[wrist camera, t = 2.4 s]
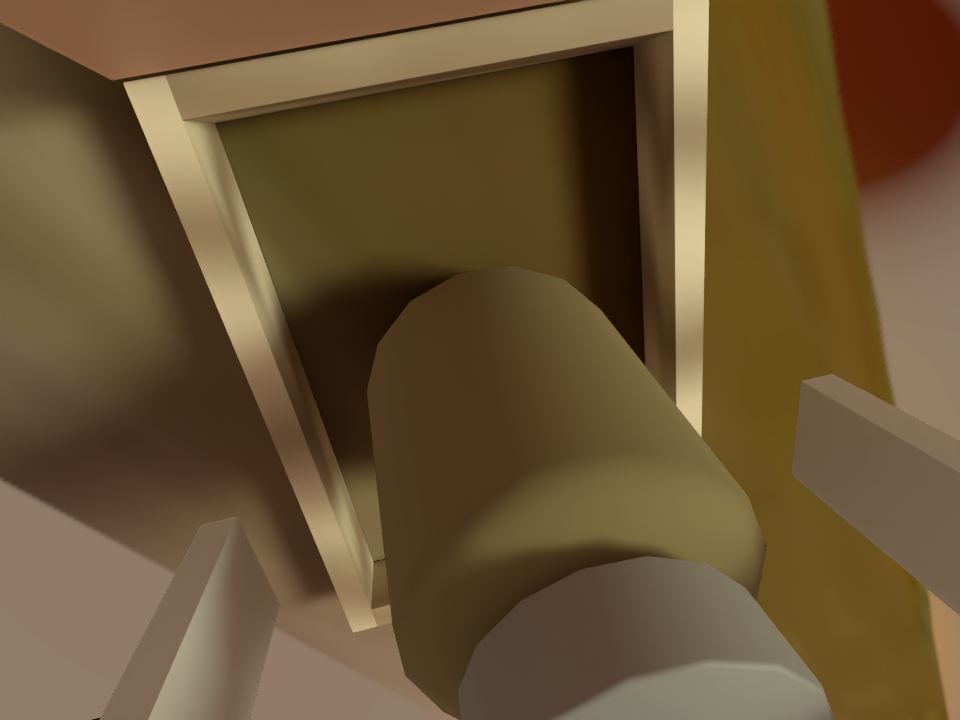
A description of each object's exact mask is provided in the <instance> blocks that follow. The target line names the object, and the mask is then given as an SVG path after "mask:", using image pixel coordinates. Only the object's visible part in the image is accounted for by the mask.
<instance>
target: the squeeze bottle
mask: <svg viewBox="0 0 960 720" xmlns="http://www.w3.org/2000/svg"><path fill="white" fill-rule="evenodd" d="M367 397H368V407H369V416H370V425H371V434H372V443H373V452H374V462H375V471H376V480H377V489H378V498H379V508H380V517H381V526H382V535H383V544H384V554H385V563H386V572H387V581H388V590H389V599H390V609H391V618H392V625H393V629H394V633H395V637H396V641H397V645H398V649H399V652H400V656H401V660H402V664H403V668H404V672H405V676H406V677H407V678H409V679H410V680H411V681H412V682H413V683H414V684H415V685H416V686H417V687H418V688H419V689H420V690H421V691H422V692H423V693H424V694H425V695H426V696H427V697H428V698H429V699H431V700H432V701H433V702H434V703H435V704H436V705H437V706H438V707H439V708H440V709H441V710H442V711H443V712H445V713H447V714H449V715H451V716H453V717H455V718H457V719H459V720H834V717H833V714H832V712H831V709H830V706H829V704H828V701H827V698H826V695H825V693H824V690H823V687H822V685H821V684H820V683H819V681H818V680H817V679H816V677H815V676H814V675H813V674H812V672H811V671H810V670H809V668H808V667H807V666H806V665H805V663H804V662H803V661H802V660H801V658H800V657H799V656H798V654H797V653H796V652H795V651H794V649H793V648H792V647H791V645H790V644H789V643H788V642H787V640H786V639H785V638H784V636H783V635H782V634H781V633H780V631H779V630H778V629H777V628H776V626H775V625H774V624H773V622H772V621H771V620H770V619H769V617H768V616H767V615H766V613H765V612H764V611H763V610H762V608H761V607H760V606H759V605H758V603H757V602H756V600H757V596H758V591H759V585H760V580H761V574H762V568H763V563H764V557H765V551H766V543H765V541H764V538H763V535H762V533H761V530H760V527H759V525H758V522H757V519H756V517H755V514H754V511H753V509H752V506H751V503H750V501H749V498H748V496H747V495H746V494H745V492H744V491H743V490H742V488H741V487H740V486H739V485H738V483H737V482H736V481H735V480H734V478H733V477H732V476H731V475H730V473H729V472H728V471H727V469H726V468H725V467H724V466H723V464H722V463H721V462H720V461H719V459H718V458H717V457H716V455H715V454H714V453H713V452H712V450H711V449H710V448H709V447H708V445H707V444H706V443H705V442H704V440H703V439H702V438H701V436H700V435H699V434H698V433H697V431H696V430H695V429H694V428H693V426H692V425H691V424H690V422H689V421H688V420H687V419H686V417H685V416H684V415H683V414H682V412H681V411H680V410H679V409H678V407H677V406H676V405H675V403H674V402H673V401H672V400H671V398H670V397H669V396H668V395H667V393H666V392H665V391H664V389H663V388H662V387H661V386H660V384H659V383H658V382H657V381H656V379H655V378H654V377H653V376H652V374H651V373H650V372H649V370H648V369H647V368H646V367H645V365H644V364H643V363H642V362H641V360H640V359H639V358H638V356H637V355H636V354H635V353H634V351H633V350H632V349H631V348H630V346H629V345H628V344H627V343H626V341H625V340H624V339H623V337H622V336H621V335H620V334H619V332H618V331H617V330H616V329H615V327H614V326H613V325H612V323H611V322H610V321H609V320H608V318H607V317H606V316H605V315H604V313H603V312H602V311H601V310H600V309H599V308H598V307H597V306H596V305H594V304H593V303H592V302H591V301H590V300H588V299H587V298H586V297H585V296H584V295H582V294H581V293H580V292H579V291H578V290H576V289H575V288H574V287H573V286H571V285H570V284H569V283H568V282H567V281H565V280H564V279H562V278H558V277H554V276H550V275H547V274H543V273H539V272H535V271H532V270H528V269H524V268H520V267H516V266H507V267H500V268H493V269H486V270H479V271H472V272H465V273H458V274H457V275H455V276H453V277H451V278H450V279H448V280H446V281H444V282H443V283H441V284H439V285H438V286H436V287H434V288H432V289H431V290H429V291H427V292H426V293H424V294H422V295H420V296H419V297H417V298H415V299H414V300H412V301H410V302H409V304H408V305H407V306H406V307H405V309H404V310H403V311H402V313H401V314H400V315H399V317H398V318H397V319H396V321H395V322H394V323H393V325H392V326H391V327H390V329H389V330H388V331H387V332H386V334H385V335H384V336H383V338H382V339H381V340H380V342H379V343H378V345H377V350H376V354H375V358H374V363H373V367H372V371H371V376H370V380H369V384H368V389H367Z"/></svg>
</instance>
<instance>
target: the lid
mask: <svg viewBox="0 0 960 720" xmlns="http://www.w3.org/2000/svg"><path fill="white" fill-rule="evenodd" d="M558 1H563V0H0V23H2V24H3V25H5V26H7V27H9V28H11V29H13V30H15V31H17V32H19V33H21V34H23V35H25V36H27V37H29V38H31V39H33V40H35V41H37V42H38V43H40V44H42V45H44V46H46V47H48V48H50V49H52V50H54V51H56V52H58V53H60V54H62V55H64V56H66V57H68V58H70V59H72V60H74V61H75V62H77V63H79V64H81V65H83V66H85V67H87V68H89V69H91V70H93V71H95V72H97V73H99V74H101V75H103V76H105V77H107V78H109V79H110V80H117V79H123V78H129V77H134V76H140V75H145V74H151V73H157V72H162V71H168V70H174V69H179V68H185V67H191V66H196V65H202V64H208V63H213V62H219V61H225V60H230V59H236V58H242V57H247V56H253V55H258V54H264V53H270V52H275V51H281V50H287V49H292V48H298V47H304V46H309V45H315V44H321V43H326V42H332V41H338V40H343V39H349V38H354V37H360V36H366V35H371V34H377V33H383V32H388V31H394V30H400V29H405V28H411V27H417V26H422V25H428V24H434V23H439V22H445V21H451V20H456V19H462V18H467V17H473V16H479V15H484V14H490V13H496V12H501V11H507V10H513V9H518V8H524V7H530V6H535V5H541V4H547V3H552V2H558Z"/></svg>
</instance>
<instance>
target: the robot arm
mask: <svg viewBox="0 0 960 720" xmlns="http://www.w3.org/2000/svg"><path fill="white" fill-rule="evenodd" d="M792 476H793V477H794V478H795V479H797V480H798V481H799V482H800V483H801V484H802V485H804V486H805V487H806V488H807V489H808V490H810V491H811V492H812V493H813V494H814V495H816V496H817V497H818V498H819V499H820V500H822V501H823V502H824V503H825V504H826V505H828V506H829V507H830V508H831V509H832V510H834V511H835V512H836V513H837V514H838V515H840V516H841V517H842V518H843V519H844V520H846V521H847V522H848V523H849V524H850V525H852V526H853V527H854V528H855V529H856V530H858V531H859V532H860V533H861V534H862V535H864V536H865V537H866V538H867V539H868V540H870V541H871V542H872V543H873V544H874V545H876V546H877V547H878V548H879V549H880V550H882V551H883V552H884V553H885V554H886V555H888V556H889V557H890V558H891V559H892V560H894V561H895V562H896V563H897V564H898V565H900V566H901V567H902V568H903V569H904V570H906V571H907V572H908V573H909V574H910V575H912V576H913V577H914V578H915V579H916V580H918V581H919V582H920V583H921V584H922V585H924V586H925V587H926V588H927V589H928V590H930V591H931V592H932V593H933V594H935V595H936V596H937V597H938V598H939V599H941V600H942V601H943V602H944V603H946V604H947V605H948V606H949V607H950V608H952V610H954V611H955V612H956V613H957V614H958V615H960V441H959V440H957V439H955V438H953V437H951V436H949V435H948V434H946V433H944V432H942V431H940V430H938V429H936V428H934V427H932V426H930V425H928V424H926V423H925V422H923V421H921V420H919V419H917V418H915V417H913V416H911V415H909V414H907V413H905V412H904V411H902V410H900V409H898V408H896V407H894V406H892V405H890V404H888V403H886V402H885V401H883V400H881V399H879V398H877V397H875V396H873V395H871V394H869V393H867V392H865V391H864V390H862V389H860V388H858V387H856V386H854V385H852V384H850V383H848V382H846V381H844V380H843V379H841V378H839V377H837V376H835V375H833V374H830V375H825V376H821V377H817V378H813V379H809V380H805V381H802V382H801V392H800V401H799V411H798V421H797V430H796V440H795V450H794V460H793V469H792ZM279 606H280V604H279V602H278V600H277V598H276V596H275V594H274V592H273V590H272V588H271V586H270V584H269V582H268V579H267V577H266V575H265V573H264V571H263V569H262V567H261V565H260V563H259V561H258V559H257V557H256V555H255V553H254V551H253V549H252V546H251V544H250V542H249V540H248V538H247V536H246V534H245V532H244V530H243V528H242V526H241V524H240V522H239V520H238V518H237V516H234V517H230V518H226V519H222V520H218V521H214V522H209V523H205V524H201V525H200V527H199V529H198V531H197V533H196V535H195V537H194V539H193V541H192V543H191V544H190V546H189V548H188V550H187V552H186V554H185V556H184V558H183V560H182V562H181V564H180V566H179V568H178V569H177V571H176V573H175V575H174V577H173V579H172V581H171V583H170V585H169V587H168V589H167V591H166V593H165V595H164V597H163V598H162V600H161V602H160V604H159V606H158V608H157V610H156V612H155V614H154V616H153V618H152V620H151V622H150V624H149V625H148V627H147V629H146V631H145V633H144V635H143V637H142V639H141V641H140V643H139V645H138V646H137V648H136V650H135V652H134V654H133V656H132V658H131V660H130V662H129V664H128V666H127V668H126V670H125V672H124V673H123V675H122V677H121V679H120V681H119V683H118V685H117V687H116V689H115V691H114V693H113V695H112V697H111V699H110V700H109V702H108V704H107V706H106V708H105V710H104V712H103V714H102V716H101V718H97V719H93V720H250V718H251V715H252V711H253V707H254V703H255V699H256V695H257V691H258V687H259V683H260V680H261V675H262V672H263V668H264V664H265V660H266V656H267V652H268V648H269V644H270V641H271V636H272V633H273V629H274V625H275V621H276V617H277V613H278V609H279Z"/></svg>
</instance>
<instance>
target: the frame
mask: <svg viewBox="0 0 960 720" xmlns="http://www.w3.org/2000/svg"><path fill="white" fill-rule="evenodd" d="M708 26H709V0H585V1H580V2H574V3H568V4H563V5H557V6H552V7H546V8H540V9H535V10H529V11H523V12H518V13H512V14H507V15H501V16H495V17H490V18H484V19H478V20H473V21H467V22H462V23H456V24H450V25H445V26H439V27H433V28H428V29H422V30H416V31H411V32H405V33H400V34H394V35H388V36H383V37H377V38H371V39H366V40H360V41H355V42H349V43H343V44H338V45H332V46H326V47H321V48H315V49H309V50H304V51H298V52H293V53H287V54H281V55H276V56H270V57H264V58H259V59H253V60H248V61H242V62H236V63H231V64H225V65H219V66H214V67H208V68H202V69H197V70H191V71H186V72H180V73H174V74H169V75H163V76H157V77H152V78H146V79H141V80H135V81H129V82H124V83H123V84H124V87H125V89H126V91H127V94H128V96H129V99H130V101H131V103H132V106H133V108H134V111H135V113H136V115H137V118H138V120H139V122H140V125H141V127H142V130H143V132H144V134H145V137H146V139H147V142H148V144H149V146H150V149H151V151H152V153H153V156H154V158H155V161H156V163H157V165H158V168H159V170H160V173H161V175H162V177H163V180H164V182H165V184H166V187H167V189H168V192H169V194H170V196H171V199H172V201H173V204H174V206H175V208H176V211H177V213H178V216H179V218H180V220H181V223H182V225H183V227H184V230H185V232H186V235H187V237H188V239H189V242H190V244H191V247H192V249H193V251H194V254H195V256H196V258H197V261H198V263H199V266H200V268H201V270H202V273H203V275H204V278H205V280H206V282H207V285H208V287H209V289H210V292H211V294H212V297H213V299H214V301H215V304H216V306H217V309H218V311H219V313H220V316H221V318H222V321H223V323H224V325H225V328H226V330H227V332H228V335H229V337H230V340H231V342H232V344H233V347H234V349H235V352H236V354H237V356H238V359H239V361H240V363H241V366H242V368H243V371H244V373H245V375H246V378H247V380H248V383H249V385H250V387H251V390H252V392H253V394H254V397H255V399H256V402H257V404H258V406H259V409H260V411H261V414H262V416H263V418H264V421H265V423H266V426H267V428H268V430H269V433H270V435H271V437H272V440H273V442H274V445H275V447H276V449H277V452H278V454H279V457H280V459H281V461H282V464H283V466H284V468H285V471H286V473H287V476H288V478H289V480H290V483H291V485H292V488H293V490H294V492H295V495H296V497H297V499H298V502H299V504H300V507H301V509H302V511H303V514H304V516H305V519H306V521H307V523H308V526H309V528H310V531H311V533H312V535H313V538H314V540H315V542H316V545H317V547H318V550H319V552H320V554H321V557H322V559H323V562H324V564H325V566H326V569H327V571H328V573H329V576H330V578H331V581H332V583H333V585H334V588H335V590H336V593H337V595H338V597H339V600H340V602H341V605H342V607H343V609H344V612H345V614H346V616H347V619H348V621H349V624H350V626H351V628H352V631H353V633H354V632H357V631H361V630H365V629H369V628H373V627H377V626H381V625H384V624H388V623H392V618H391V609H390V599H389V590H388V581H387V572H386V563H385V559H384V560H380V561H376V562H373V559H372V557H371V554H370V551H369V548H368V546H367V543H366V540H365V537H364V535H363V532H362V529H361V526H360V523H359V521H358V518H357V515H356V512H355V510H354V507H353V504H352V501H351V499H350V496H349V493H348V490H347V488H346V485H345V482H344V479H343V476H342V474H341V471H340V468H339V465H338V463H337V460H336V457H335V454H334V452H333V449H332V446H331V443H330V440H329V438H328V435H327V432H326V429H325V427H324V424H323V421H322V418H321V416H320V413H319V410H318V407H317V404H316V402H315V399H314V396H313V393H312V391H311V388H310V385H309V382H308V380H307V377H306V374H305V371H304V368H303V366H302V363H301V360H300V357H299V355H298V352H297V349H296V346H295V344H294V341H293V338H292V335H291V332H290V330H289V327H288V324H287V321H286V319H285V316H284V313H283V310H282V308H281V305H280V302H279V299H278V296H277V294H276V291H275V288H274V285H273V283H272V280H271V277H270V274H269V272H268V269H267V266H266V263H265V261H264V258H263V255H262V252H261V249H260V247H259V244H258V241H257V238H256V236H255V233H254V230H253V227H252V225H251V222H250V219H249V216H248V213H247V211H246V208H245V205H244V202H243V200H242V197H241V194H240V191H239V189H238V186H237V183H236V180H235V177H234V175H233V172H232V169H231V166H230V164H229V161H228V158H227V155H226V153H225V150H224V147H223V144H222V141H221V139H220V136H219V133H218V130H217V128H216V125H215V123H219V122H225V121H230V120H236V119H241V118H246V117H252V116H257V115H263V114H268V113H273V112H279V111H284V110H290V109H295V108H300V107H306V106H311V105H316V104H322V103H327V102H333V101H338V100H343V99H349V98H354V97H360V96H365V95H370V94H376V93H381V92H387V91H392V90H397V89H403V88H408V87H414V86H419V85H424V84H430V83H435V82H441V81H446V80H451V79H457V78H462V77H468V76H473V75H478V74H484V73H489V72H495V71H500V70H505V69H511V68H516V67H522V66H527V65H532V64H538V63H543V62H549V61H554V60H559V59H565V58H570V57H576V56H581V55H586V54H592V53H597V52H603V51H608V50H613V49H619V48H624V47H630V46H633V49H634V76H635V103H636V130H637V157H638V184H639V212H640V239H641V266H642V293H643V320H644V347H645V367H646V368H647V369H648V370H649V372H650V373H651V374H652V376H653V377H654V378H655V379H656V381H657V382H658V383H659V384H660V386H661V387H662V388H663V389H664V391H665V392H666V393H667V395H668V396H669V397H670V398H671V400H672V401H673V402H674V403H675V405H676V406H677V407H678V409H679V410H680V411H681V412H682V414H683V415H684V416H685V417H686V419H687V420H688V421H689V422H690V424H691V425H692V426H693V428H694V429H695V430H696V431H697V433H698V434H699V435H700V436H701V428H702V371H703V313H704V256H705V198H706V141H707V83H708Z"/></svg>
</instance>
